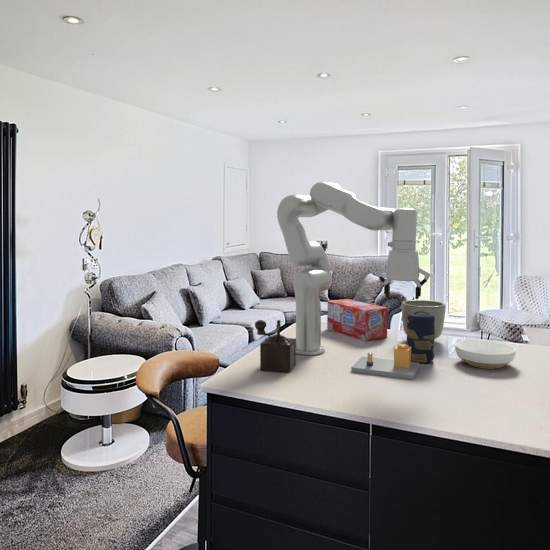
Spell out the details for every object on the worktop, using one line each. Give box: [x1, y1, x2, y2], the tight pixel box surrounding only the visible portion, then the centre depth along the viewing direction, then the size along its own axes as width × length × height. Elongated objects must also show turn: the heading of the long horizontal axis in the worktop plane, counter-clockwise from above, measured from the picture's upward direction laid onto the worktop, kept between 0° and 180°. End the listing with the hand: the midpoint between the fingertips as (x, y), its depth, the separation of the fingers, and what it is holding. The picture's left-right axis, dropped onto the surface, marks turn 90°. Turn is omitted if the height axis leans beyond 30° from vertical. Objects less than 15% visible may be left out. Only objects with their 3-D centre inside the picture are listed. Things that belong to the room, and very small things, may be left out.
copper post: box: [367, 352, 373, 366], centre depth 162 cm, size 2×2×6 cm
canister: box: [406, 311, 435, 364], centre depth 171 cm, size 10×10×18 cm
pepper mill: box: [254, 319, 297, 374], centre depth 161 cm, size 16×11×18 cm
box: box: [326, 298, 389, 342], centre depth 213 cm, size 27×13×14 cm, turn 30°
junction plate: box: [350, 355, 421, 380], centre depth 162 cm, size 20×14×2 cm
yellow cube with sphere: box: [393, 343, 412, 368], centre depth 161 cm, size 5×5×7 cm
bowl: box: [454, 339, 517, 370], centre depth 167 cm, size 20×20×6 cm
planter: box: [401, 299, 446, 341], centre depth 198 cm, size 17×17×16 cm
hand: (402, 297), depth 160 cm, fingers open, 9 cm apart
